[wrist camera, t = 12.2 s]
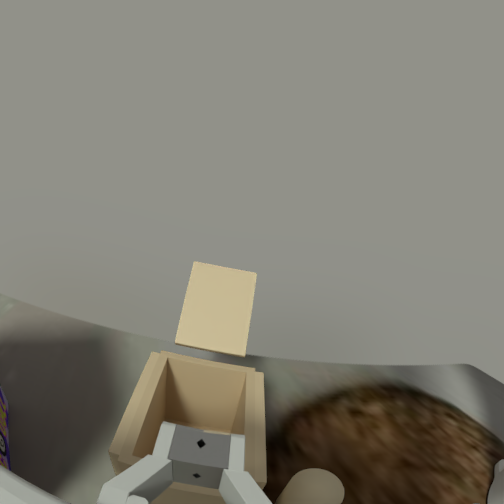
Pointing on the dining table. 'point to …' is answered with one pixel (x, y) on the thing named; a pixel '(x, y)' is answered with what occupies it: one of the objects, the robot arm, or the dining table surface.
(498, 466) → the robot arm
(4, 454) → the toy
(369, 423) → the dining table surface
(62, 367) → the dining table surface
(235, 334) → the flap
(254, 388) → the carton
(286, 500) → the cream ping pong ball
